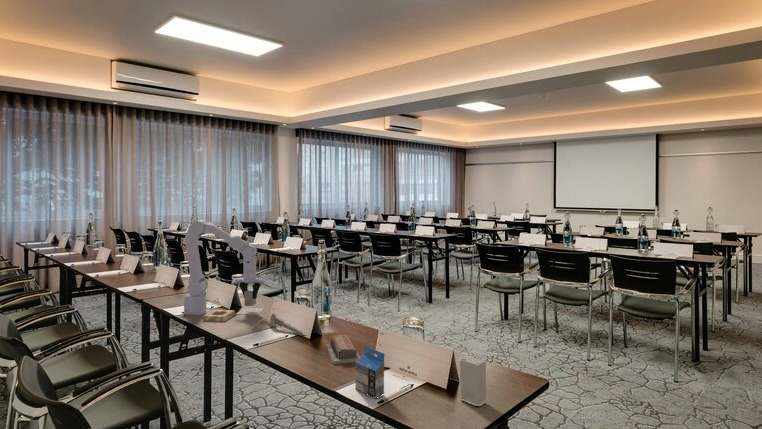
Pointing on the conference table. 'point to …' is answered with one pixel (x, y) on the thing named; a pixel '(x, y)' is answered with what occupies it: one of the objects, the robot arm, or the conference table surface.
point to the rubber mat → (250, 311)
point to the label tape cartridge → (370, 373)
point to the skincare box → (473, 380)
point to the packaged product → (342, 350)
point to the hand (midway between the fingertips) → (250, 298)
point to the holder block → (219, 315)
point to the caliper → (282, 324)
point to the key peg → (249, 297)
